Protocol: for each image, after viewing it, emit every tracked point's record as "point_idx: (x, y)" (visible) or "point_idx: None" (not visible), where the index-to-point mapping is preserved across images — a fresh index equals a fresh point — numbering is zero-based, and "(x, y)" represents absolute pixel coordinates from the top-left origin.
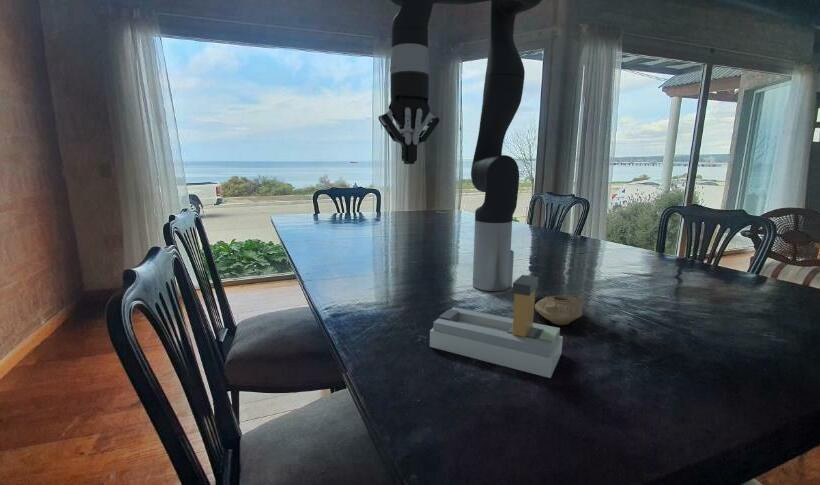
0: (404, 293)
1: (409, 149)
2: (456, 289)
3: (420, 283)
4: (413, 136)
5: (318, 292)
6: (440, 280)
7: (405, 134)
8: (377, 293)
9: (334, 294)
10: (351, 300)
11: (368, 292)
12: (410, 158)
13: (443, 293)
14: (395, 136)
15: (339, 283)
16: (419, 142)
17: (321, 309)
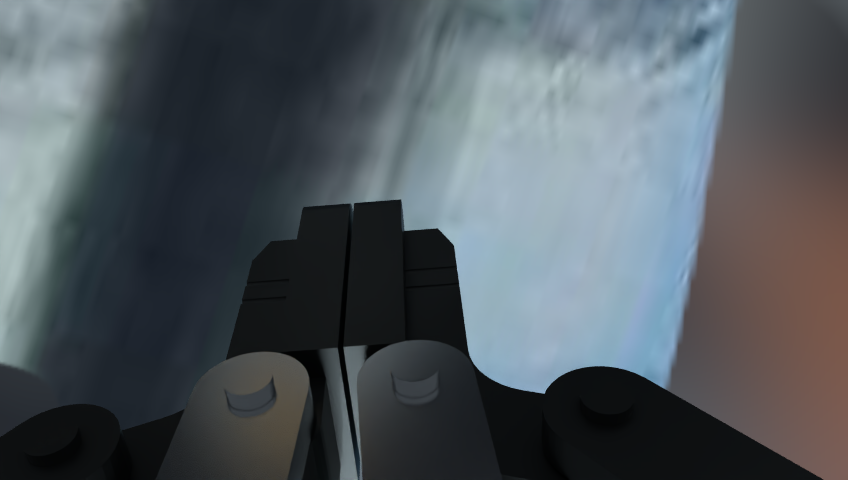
0: (335, 113)
1: (381, 302)
2: (80, 89)
3: (224, 217)
4: (291, 455)
5: (666, 232)
6: (119, 230)
7: (482, 474)
8: (447, 149)
9: (616, 191)
10: (576, 100)
11: (479, 173)
12: (366, 227)
13: (159, 56)
14: (708, 418)
15: (555, 312)
16: (159, 424)
17: (720, 36)
